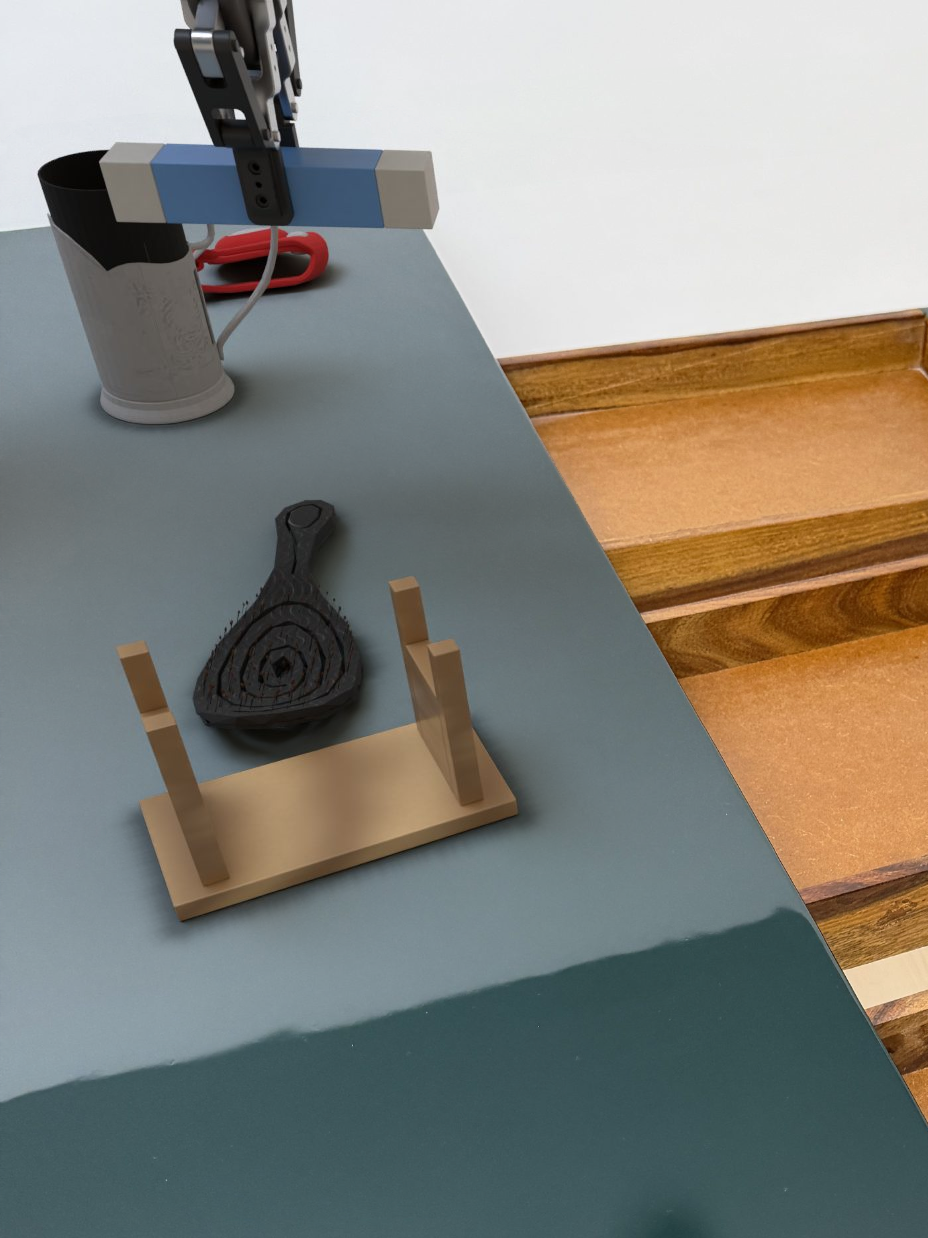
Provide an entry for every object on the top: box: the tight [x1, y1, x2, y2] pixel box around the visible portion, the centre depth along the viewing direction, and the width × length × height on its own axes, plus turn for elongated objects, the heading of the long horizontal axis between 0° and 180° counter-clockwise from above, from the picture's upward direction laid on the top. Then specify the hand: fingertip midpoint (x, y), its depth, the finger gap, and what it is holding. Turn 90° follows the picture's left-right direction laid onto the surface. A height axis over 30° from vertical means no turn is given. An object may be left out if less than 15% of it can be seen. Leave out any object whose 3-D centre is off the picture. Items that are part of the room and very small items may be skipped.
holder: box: [115, 575, 519, 922], centre depth 65 cm, size 16×8×10 cm, turn 120°
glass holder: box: [37, 149, 279, 425], centre depth 95 cm, size 9×14×15 cm, turn 123°
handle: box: [99, 141, 440, 230], centre depth 74 cm, size 16×3×3 cm, turn 95°
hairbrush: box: [192, 499, 364, 731], centre depth 79 cm, size 8×4×25 cm
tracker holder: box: [192, 226, 330, 294], centre depth 112 cm, size 12×4×10 cm
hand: (279, 209), depth 74 cm, fingers closed on handle, 3 cm apart
